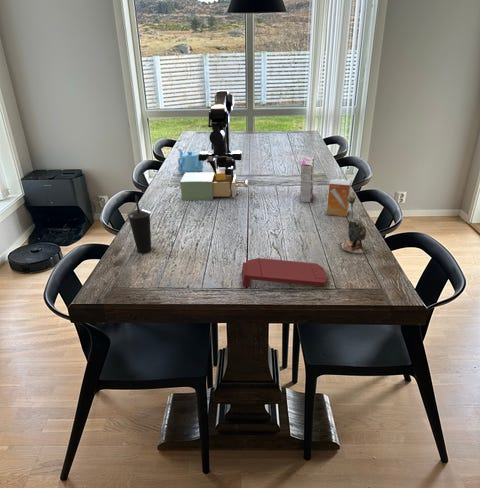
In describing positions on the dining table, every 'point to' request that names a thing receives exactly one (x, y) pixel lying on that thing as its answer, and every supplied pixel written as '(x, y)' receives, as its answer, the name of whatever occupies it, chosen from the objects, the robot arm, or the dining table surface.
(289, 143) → the dining table surface
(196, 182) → the cabinet
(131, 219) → the drinking cup
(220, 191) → the drawer
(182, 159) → the teapot
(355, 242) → the plant with pod
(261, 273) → the red flat block
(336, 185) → the small box
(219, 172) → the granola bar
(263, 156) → the dining table surface
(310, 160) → the candy bar box
